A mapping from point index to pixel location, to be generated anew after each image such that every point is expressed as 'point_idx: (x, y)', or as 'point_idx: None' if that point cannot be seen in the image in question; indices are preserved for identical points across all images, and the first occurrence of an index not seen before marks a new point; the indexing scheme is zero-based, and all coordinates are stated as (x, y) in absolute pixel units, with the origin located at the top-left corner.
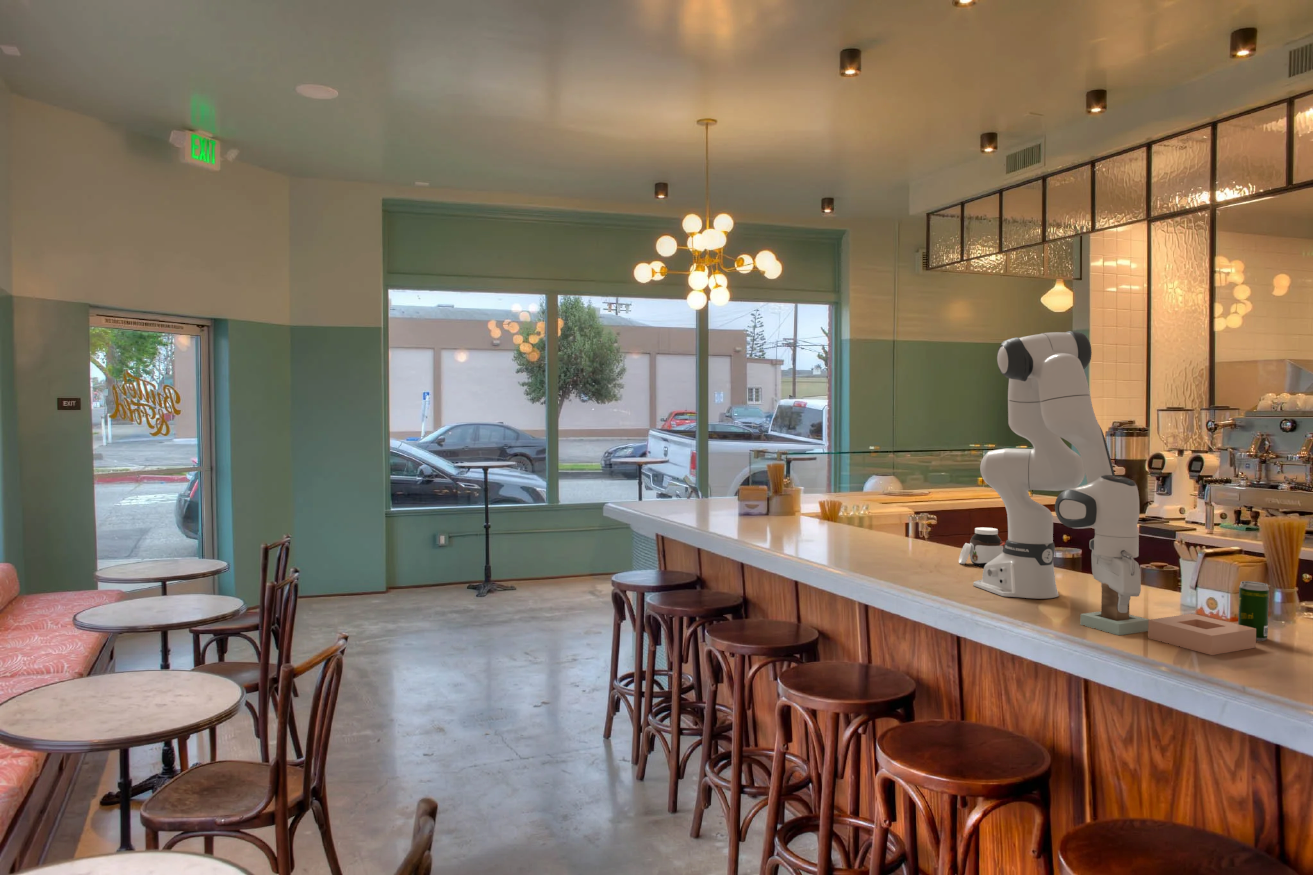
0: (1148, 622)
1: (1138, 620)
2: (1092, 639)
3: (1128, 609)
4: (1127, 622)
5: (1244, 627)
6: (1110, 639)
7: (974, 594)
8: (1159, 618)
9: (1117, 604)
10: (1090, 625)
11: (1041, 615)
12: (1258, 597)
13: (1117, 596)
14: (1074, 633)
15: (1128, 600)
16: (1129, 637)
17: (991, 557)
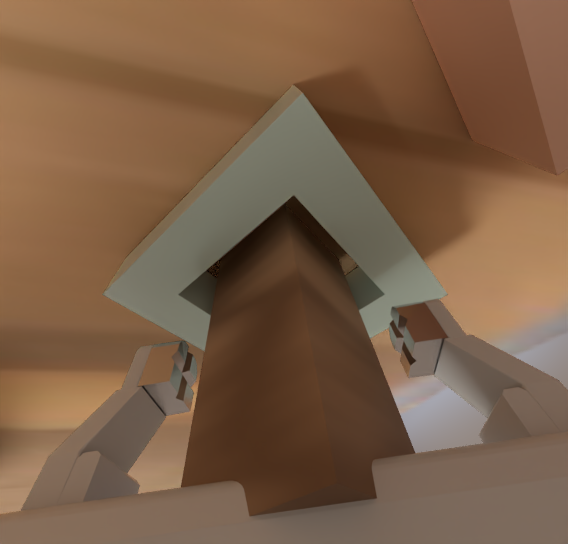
0: (541, 168)
1: (348, 189)
2: (475, 335)
3: (300, 270)
4: (410, 256)
5: None
6: (481, 292)
7: (21, 505)
8: (531, 60)
9: (419, 370)
10: None
11: (187, 421)
12: None
13: (400, 418)
14: (400, 368)
15: (524, 369)
16: (454, 226)
17: None
